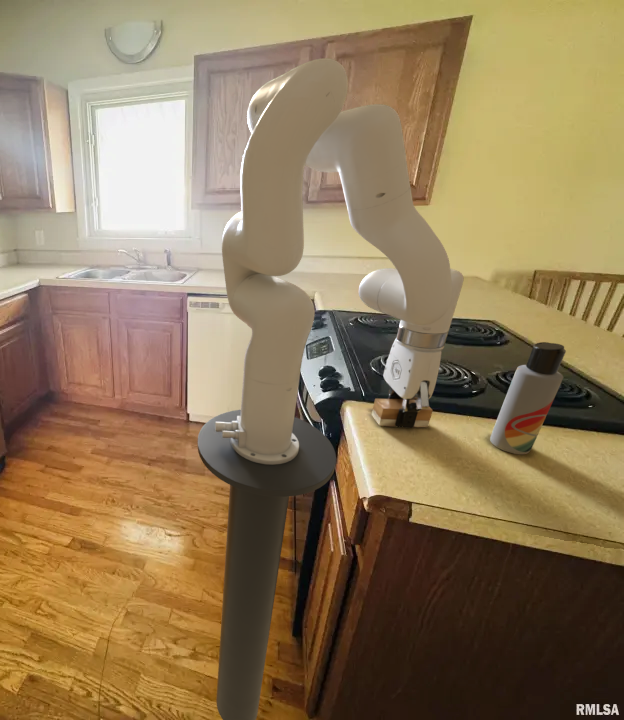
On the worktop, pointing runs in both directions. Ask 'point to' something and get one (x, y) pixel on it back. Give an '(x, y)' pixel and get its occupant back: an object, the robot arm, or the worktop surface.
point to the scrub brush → (396, 412)
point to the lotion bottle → (529, 399)
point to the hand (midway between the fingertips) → (398, 419)
